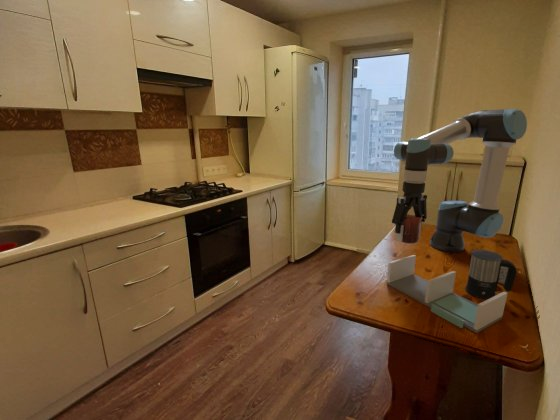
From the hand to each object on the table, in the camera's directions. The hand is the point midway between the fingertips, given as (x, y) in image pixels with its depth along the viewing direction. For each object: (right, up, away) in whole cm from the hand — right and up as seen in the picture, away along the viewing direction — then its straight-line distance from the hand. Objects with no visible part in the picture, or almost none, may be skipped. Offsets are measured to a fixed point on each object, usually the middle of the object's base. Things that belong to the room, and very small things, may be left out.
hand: (407, 238), depth 118 cm
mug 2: (+38, -16, +2) cm, 42 cm away
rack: (+6, -20, -13) cm, 24 cm away
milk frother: (+25, -18, -5) cm, 32 cm away
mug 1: (0, -2, -1) cm, 2 cm away
